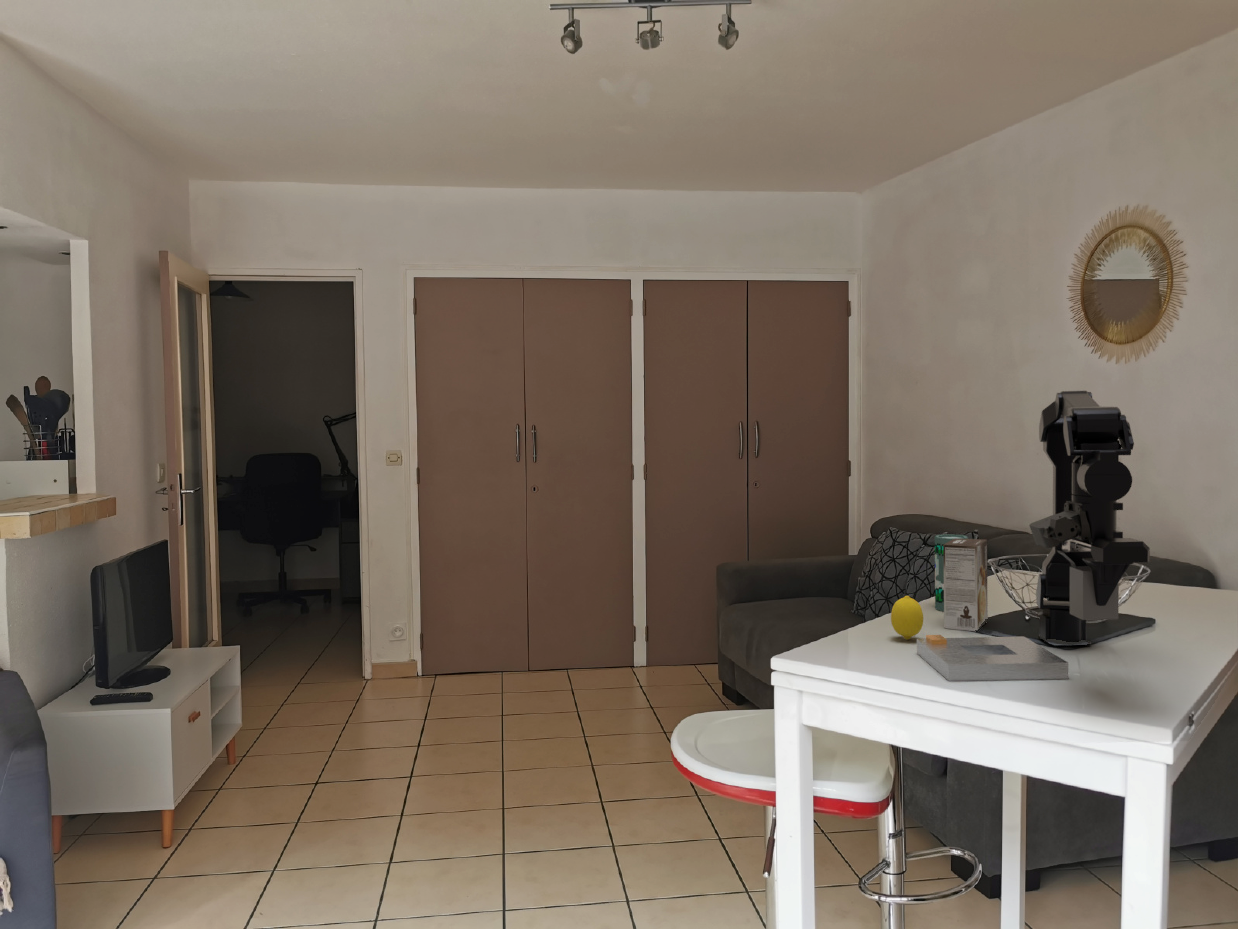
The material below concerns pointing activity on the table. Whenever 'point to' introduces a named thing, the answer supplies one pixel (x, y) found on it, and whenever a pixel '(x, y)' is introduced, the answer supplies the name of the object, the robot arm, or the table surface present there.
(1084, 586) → the plug
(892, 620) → the lemon
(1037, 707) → the table surface
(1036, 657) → the socket plate
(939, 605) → the can
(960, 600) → the coffee box
